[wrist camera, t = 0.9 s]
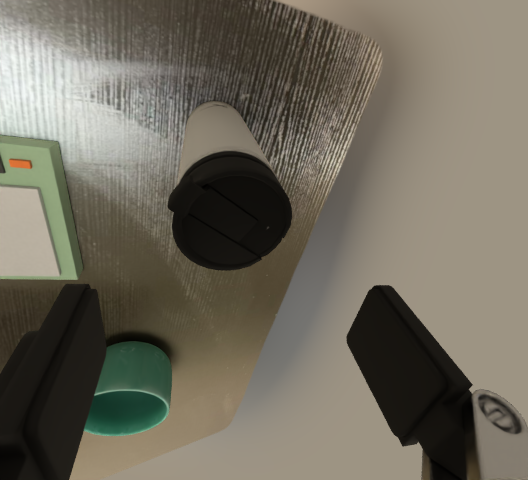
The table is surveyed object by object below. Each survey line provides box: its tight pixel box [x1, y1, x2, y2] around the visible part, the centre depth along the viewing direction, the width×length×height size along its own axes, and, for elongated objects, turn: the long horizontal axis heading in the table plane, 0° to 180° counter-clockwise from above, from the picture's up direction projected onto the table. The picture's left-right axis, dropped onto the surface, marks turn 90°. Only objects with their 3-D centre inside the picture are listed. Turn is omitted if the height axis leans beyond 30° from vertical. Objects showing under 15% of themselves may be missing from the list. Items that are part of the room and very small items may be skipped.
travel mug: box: [168, 101, 292, 270], centre depth 22 cm, size 6×7×20 cm
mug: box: [84, 341, 172, 436], centre depth 43 cm, size 17×13×10 cm
